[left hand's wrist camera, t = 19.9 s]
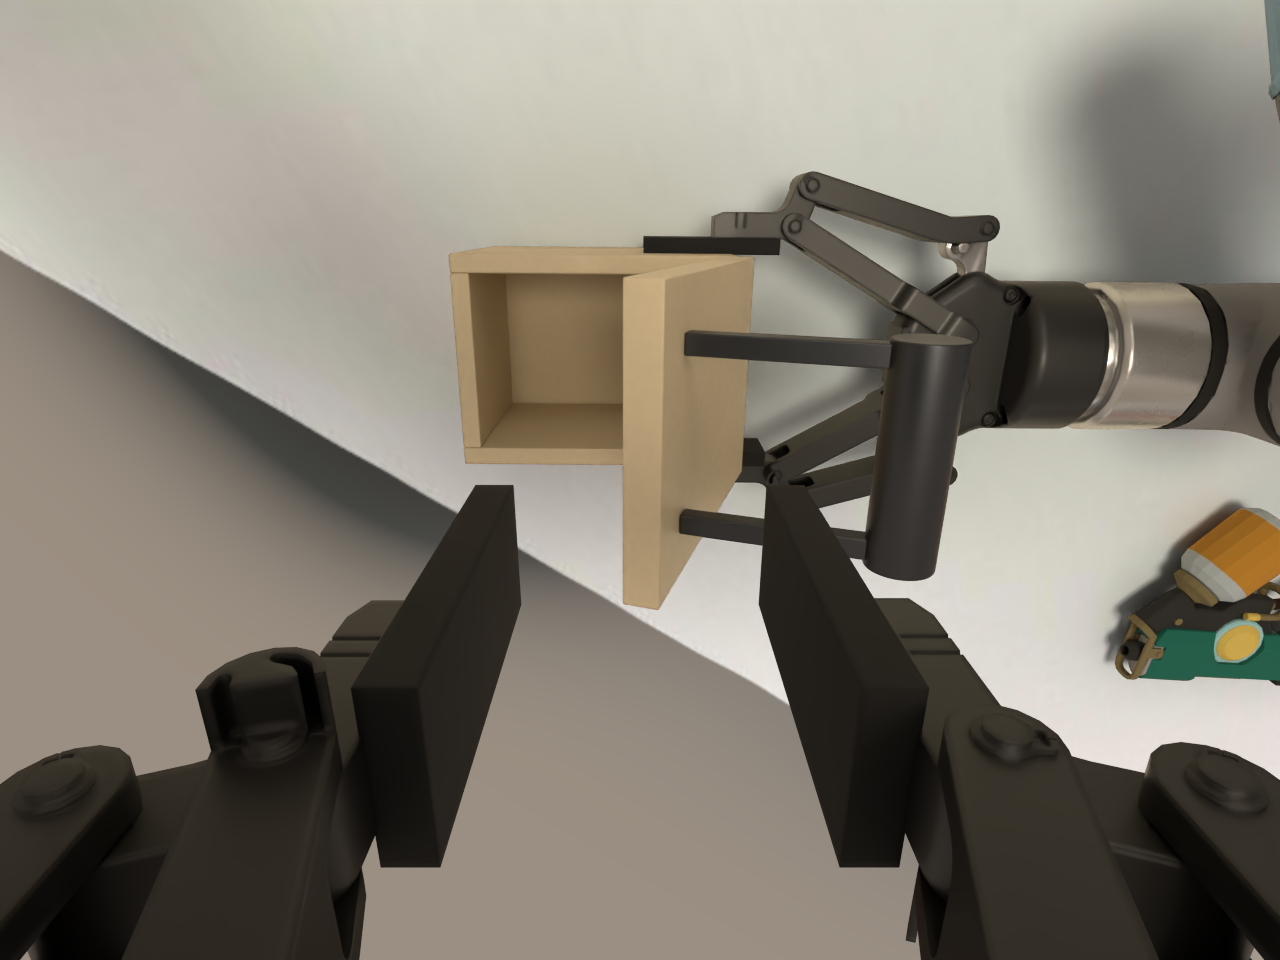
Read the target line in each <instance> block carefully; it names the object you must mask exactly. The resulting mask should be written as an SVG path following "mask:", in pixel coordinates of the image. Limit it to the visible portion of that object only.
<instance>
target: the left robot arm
mask: <svg viewBox="0 0 1280 960" xmlns="http://www.w3.org/2000/svg"><path fill="white" fill-rule="evenodd" d="M520 607H521V594H520V578H519V563H518V548H517V533H516V518H515V502H514V487H513V485H475V487H474V489H473V490H472V492H471V494H470V495H469V497H468V498H467V500H466V502H465V503H464V505H463V507H462V508H461V510H460V511H459V513H458V515H457V516H456V518H455V520H454V521H453V523H452V524H451V526H450V528H449V529H448V531H447V533H446V534H445V536H444V537H443V539H442V541H441V542H440V544H439V546H438V547H437V549H436V550H435V552H434V554H433V555H432V557H431V559H430V560H429V562H428V563H427V565H426V567H425V568H424V570H423V572H422V573H421V575H420V576H419V578H418V580H417V581H416V583H415V585H414V586H413V588H412V589H411V591H410V593H409V594H408V596H407V597H406V599H405V601H370V602H369V603H367V604H366V605H364V606H363V607H361V608H360V609H358V610H357V611H355V612H354V613H352V614H351V615H349V616H348V617H347V618H346V619H345V620H344V622H343V623H342V625H341V626H340V627H339V629H338V630H337V631H336V633H335V634H334V635H333V637H332V638H333V639H332V641H329V642H328V643H327V645H326V646H325V648H324V649H323V650H322V652H321V655H320V656H319V655H318V654H317V653H315V652H314V651H311V650H307V649H302V648H298V647H286V648H272V649H267V650H263V651H259V652H254V653H250V654H247V655H245V656H242V657H240V658H237V659H235V660H233V661H230V662H228V663H226V664H224V665H223V666H221V667H220V668H218V669H217V670H215V671H214V672H212V673H211V674H209V675H208V676H207V677H206V678H205V679H204V680H203V682H202V683H201V684H200V685H199V686H198V687H197V689H196V694H197V698H198V702H199V706H200V710H201V713H202V717H203V721H204V725H205V729H206V732H207V736H208V740H209V744H210V748H211V753H210V755H209V757H208V760H204V761H201V762H197V763H194V764H190V765H185V766H180V767H176V768H171V769H166V770H162V771H157V772H153V773H148V774H144V775H139V776H136V774H135V771H134V768H133V765H132V762H131V758H130V756H128V755H127V754H126V753H125V752H124V751H122V750H121V749H120V748H116V747H109V746H102V745H98V746H90V747H82V748H75V749H71V750H68V751H64V752H61V753H59V754H58V753H57V754H54V755H51V756H49V757H46V758H44V759H42V760H40V761H38V762H36V763H34V764H32V765H30V766H28V767H26V768H24V769H22V770H20V771H18V772H16V773H15V774H14V775H12V776H11V777H10V778H8V779H7V780H6V781H4V782H3V783H1V784H0V960H20V959H21V958H22V957H23V955H24V954H25V953H26V952H28V954H29V956H30V959H31V960H359V957H360V948H361V938H362V929H363V920H364V911H365V902H366V892H365V884H364V878H363V872H362V865H363V862H364V860H365V858H366V855H367V853H368V851H369V848H370V846H371V844H372V841H373V839H374V837H375V836H376V842H377V848H378V854H379V860H380V866H381V867H441V863H442V860H443V857H444V853H445V850H446V847H447V844H448V840H449V837H450V834H451V831H452V828H453V824H454V821H455V818H456V815H457V811H458V808H459V805H460V802H461V798H462V795H463V792H464V788H465V785H466V782H467V779H468V776H469V772H470V769H471V766H472V763H473V759H474V756H475V753H476V750H477V746H478V743H479V740H480V737H481V733H482V730H483V727H484V724H485V720H486V717H487V714H488V711H489V707H490V704H491V701H492V698H493V694H494V691H495V688H496V685H497V681H498V678H499V675H500V671H501V668H502V665H503V662H504V659H505V655H506V652H507V649H508V646H509V642H510V639H511V636H512V632H513V629H514V626H515V623H516V620H517V616H518V613H519V610H520ZM759 607H760V610H761V613H762V616H763V620H764V623H765V626H766V629H767V633H768V636H769V639H770V642H771V646H772V649H773V652H774V655H775V659H776V662H777V665H778V668H779V672H780V675H781V678H782V681H783V685H784V688H785V691H786V694H787V698H788V701H789V704H790V707H791V711H792V714H793V717H794V720H795V724H796V727H797V730H798V733H799V737H800V740H801V743H802V746H803V750H804V753H805V756H806V759H807V763H808V766H809V769H810V772H811V776H812V779H813V782H814V785H815V789H816V792H817V795H818V798H819V802H820V805H821V808H822V811H823V815H824V818H825V821H826V824H827V828H828V831H829V834H830V837H831V841H832V844H833V847H834V850H835V854H836V857H837V860H838V863H839V867H899V866H900V860H901V854H902V848H903V842H904V836H905V833H906V835H907V838H908V840H909V842H910V845H911V847H912V849H913V852H914V854H915V856H916V859H917V861H918V863H919V867H918V872H917V878H916V884H915V889H914V895H913V900H912V906H911V911H910V917H909V922H908V929H907V935H906V941H910V942H916V936H917V931H918V936H919V946H920V955H921V960H1252V959H1251V958H1250V956H1251V954H1252V952H1253V949H1254V948H1255V949H1256V950H1257V951H1258V953H1259V954H1260V955H1261V956H1262V958H1263V959H1264V960H1280V780H1279V779H1277V778H1276V777H1275V776H1273V775H1272V774H1271V773H1269V772H1268V771H1266V770H1265V769H1264V768H1262V767H1259V766H1257V765H1255V764H1253V763H1251V762H1249V761H1247V760H1245V759H1243V758H1241V757H1240V756H1238V755H1236V754H1233V753H1230V752H1228V751H1225V750H1220V749H1218V748H1214V747H1210V746H1207V745H1199V744H1192V743H1184V742H1178V743H1171V744H1164V745H1161V746H1160V747H1158V748H1157V749H1156V750H1155V751H1154V752H1152V753H1151V755H1150V758H1149V762H1148V765H1147V768H1146V771H1145V773H1142V772H1137V771H1133V770H1128V769H1123V768H1119V767H1114V766H1109V765H1105V764H1100V763H1095V762H1091V761H1087V760H1083V759H1080V758H1076V757H1073V756H1071V754H1070V751H1069V749H1068V748H1067V747H1066V745H1065V744H1064V743H1063V741H1062V740H1061V738H1060V737H1059V736H1058V734H1056V733H1055V732H1054V731H1052V730H1051V729H1050V728H1048V727H1047V726H1046V725H1045V724H1043V723H1042V722H1041V721H1039V720H1037V719H1035V718H1033V717H1031V716H1029V715H1026V714H1024V713H1022V712H1020V711H1018V710H1014V709H1011V708H1007V707H1003V706H1001V705H1000V704H999V703H998V701H997V700H996V699H995V697H994V696H993V695H992V693H991V692H990V690H989V689H988V688H987V686H986V685H985V684H984V682H983V681H982V680H981V678H980V677H979V676H978V674H977V673H976V672H975V670H974V669H973V668H972V666H971V665H970V663H969V662H968V661H967V659H966V658H965V657H964V655H960V650H959V649H958V647H957V646H956V645H955V643H954V642H953V640H952V639H951V638H948V634H947V632H946V631H945V630H944V628H943V627H942V626H941V624H940V623H939V622H938V620H937V619H936V618H935V616H934V615H933V614H931V613H930V612H928V611H927V610H925V609H924V608H922V607H921V606H919V605H918V604H916V603H915V602H913V601H912V600H910V599H909V598H874V597H873V596H872V594H871V593H870V591H869V589H868V588H867V586H866V584H865V583H864V581H863V580H862V578H861V576H860V575H859V573H858V571H857V570H856V568H855V567H854V565H853V563H852V562H851V560H850V558H849V557H848V555H847V554H846V552H845V550H844V549H843V547H842V545H841V544H840V542H839V541H838V539H837V537H836V536H835V534H834V532H833V531H832V529H831V528H830V526H829V524H828V523H827V521H826V520H825V518H824V516H823V515H822V513H821V511H820V510H819V508H818V507H817V505H816V503H815V502H814V500H813V498H812V497H811V495H810V494H809V492H808V490H807V489H806V487H805V485H767V487H766V502H765V518H764V533H763V548H762V563H761V578H760V593H759Z"/></svg>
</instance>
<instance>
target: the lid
mask: <svg viewBox="0 0 1280 960" xmlns="http://www.w3.org/2000/svg"><path fill="white" fill-rule="evenodd" d="M753 274H754V257H733V256H728V257H723V258H718V259H713V260H708V261H703V262H698V263H693V264H688V265H683V266H678V267H673V268H668V269H663V270H658V271H653V272H648V273H643V274H638V275H633V276H628V277H624V278H623V604H626V605H632V606H637V607H643V608H649V609H655V610H659V608H660V606H661V605H662V603H663V601H664V600H665V598H666V596H667V595H668V593H669V591H670V590H671V588H672V586H673V585H674V583H675V581H676V580H677V578H678V576H679V575H680V573H681V571H682V570H683V568H684V566H685V565H686V563H687V561H688V560H689V558H690V556H691V555H692V553H693V551H694V550H695V548H696V546H697V545H698V543H699V541H700V540H701V538H702V537H706V538H713V539H720V540H727V541H734V542H741V543H748V544H755V545H763V533H764V519H762V518H754V517H746V516H739V515H731V514H723V513H717V511H718V510H719V508H720V506H721V505H722V503H723V501H724V500H725V498H726V496H727V495H728V493H729V491H730V490H731V488H732V486H733V485H734V483H735V481H736V480H737V478H738V476H739V475H740V473H741V471H742V457H743V440H744V423H745V407H746V390H747V373H748V360H757V361H772V362H788V363H803V364H818V365H834V366H849V367H865V368H880V369H886V375H885V382H884V390H883V398H882V406H881V414H880V422H879V430H878V437H877V445H876V453H875V461H874V469H873V477H872V485H871V493H870V500H869V508H868V516H867V524H866V532H862V531H854V530H846V529H839V528H831V527H830V528H831V529H832V531H833V532H834V534H835V536H836V537H837V539H838V541H839V542H840V544H841V545H842V547H843V549H844V550H845V552H846V554H847V555H848V557H849V558H855V559H862V561H863V564H864V565H865V566H866V567H867V568H868V569H869V570H870V571H872V572H874V573H876V574H878V575H881V576H883V577H887V578H891V579H895V580H902V581H918V580H924V579H927V578H929V577H931V576H932V575H933V574H934V572H935V568H936V562H937V556H938V550H939V544H940V538H941V532H942V526H943V520H944V514H945V508H946V502H947V496H948V490H949V484H950V478H951V472H952V466H953V460H954V454H955V448H956V442H957V436H958V430H959V424H960V418H961V412H962V406H963V400H964V394H965V388H966V382H967V376H968V370H969V364H970V359H971V353H972V347H973V342H972V341H971V340H969V339H966V338H962V337H956V336H949V335H940V334H921V333H910V334H898V335H894V336H891V338H890V341H888V340H869V339H851V338H832V337H814V336H795V335H777V334H758V333H750V323H751V307H752V290H753Z"/></svg>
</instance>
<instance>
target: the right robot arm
mask: <svg viewBox="0 0 1280 960" xmlns="http://www.w3.org/2000/svg"><path fill="white" fill-rule="evenodd" d="M1264 3H1265V14H1266V25H1267V36H1268V48H1269V59H1270V71H1271V84H1270V86H1269V95H1270V96H1271V98H1272V100H1273V99H1275V101H1276V106H1277V111H1278V116H1279V121H1280V0H1264ZM815 206H816V207H819V208H822V209H825V210H828V211H831V212H835V213H838V214H841V215H844V216H847V217H850V218H853V219H856V220H859V221H862V222H865V223H868V224H871V225H874V226H877V227H880V228H883V229H886V230H889V231H892V232H895V233H898V234H901V235H904V236H907V237H910V238H913V239H917V240H921V241H927V242H937V243H938V252H939V254H940V255H941V257H943V258H945V259H949V260H952V261H953V262H954V263H955V264H956V266H957V273H955V274H953V275H952V276H950V277H949V278H947V279H946V280H944V281H943V282H941V283H940V284H938V285H937V286H935V287H934V288H932V289H931V290H929V291H928V292H926V293H923V292H922V291H920V290H919V289H917V288H915V287H913V286H912V285H909V284H908V283H906V282H904V281H903V280H901V279H900V278H898V277H896V276H895V275H893V274H892V273H890V272H889V271H887V270H886V269H884V268H883V267H881V266H880V265H878V264H877V263H875V262H874V261H872V260H871V259H869V258H868V257H866V256H864V255H863V254H861V253H860V252H858V251H857V250H855V249H854V248H852V247H851V246H849V245H848V244H846V243H845V242H843V241H842V240H840V239H839V238H837V237H836V236H834V235H832V234H831V233H829V232H828V231H826V230H825V229H823V228H822V227H820V226H819V225H817V224H816V223H814V222H813V221H811V220H810V216H811V214H812V212H813V209H814V207H815ZM999 229H1000V223H999V221H998V219H997V218H996V217H994V216H990V215H975V216H953V217H950V216H947V215H944V214H941V213H938V212H935V211H932V210H929V209H926V208H923V207H920V206H917V205H914V204H911V203H908V202H905V201H902V200H899V199H896V198H893V197H890V196H887V195H884V194H881V193H878V192H875V191H872V190H869V189H866V188H864V187H861V186H858V185H855V184H852V183H849V182H846V181H843V180H840V179H837V178H834V177H831V176H828V175H825V174H822V173H819V172H813V171H812V172H808V173H805V174H801V175H799V176H796V177H795V178H794V179H793V180H792V182H791V183H790V188H789V192H788V195H787V197H786V199H785V202H784V204H783V205H782V207H781V208H780V209H778V210H777V211H775V212H772V213H769V212H722V213H719V214H717V215H715V216H712V220H711V237H681V236H644V241H643V253H674V254H733V255H779V252H780V239H783V240H784V241H786V242H787V243H789V244H791V245H792V246H794V247H795V248H797V249H798V250H800V251H801V252H803V253H805V254H806V255H808V256H809V257H811V258H812V259H814V260H815V261H817V262H818V263H820V264H822V265H823V266H825V267H826V268H828V269H829V270H831V271H832V272H834V273H835V274H837V275H839V276H840V277H842V278H843V279H845V280H846V281H848V282H849V283H851V284H853V285H854V286H856V287H857V288H859V289H860V290H862V291H863V292H865V293H866V294H868V295H870V296H871V297H873V298H874V299H876V300H877V301H878V302H879V303H881V304H882V305H884V306H885V307H887V308H888V309H890V310H891V311H893V312H895V313H896V314H897V316H896V318H895V319H894V322H889V330H888V341H890V338H891V336H894V335H898V334H910V333H921V334H940V335H949V336H956V337H962V338H966V339H969V340H971V341H972V342H973V347H972V353H971V359H970V364H969V370H968V376H967V382H966V388H965V394H964V400H963V406H962V412H961V418H960V424H959V430H958V436H960V435H963V434H965V433H966V432H968V431H971V430H974V429H978V428H1051V429H1055V428H1062V427H1065V426H1069V427H1071V428H1076V429H1205V430H1225V431H1233V432H1238V433H1243V434H1247V435H1249V436H1252V437H1255V438H1258V439H1261V440H1264V441H1266V442H1269V443H1272V444H1275V445H1278V446H1280V283H1246V284H1186V283H1155V282H1089V283H1087V284H1084V285H1083V284H1081V283H1078V282H1068V281H999V280H996V279H994V278H993V277H991V276H990V275H988V274H987V273H985V265H986V256H987V246H988V241H991V240H992V239H994V238H995V237H996V236H997V234H998V233H999ZM885 375H886V369H884V370H883V378H882V381H884V382H885ZM883 390H884V386H883V387H881V388H879V389H877V390H875V391H873V392H872V393H870V394H868V395H867V396H866V398H865V399H864V400H863V401H861V402H859V403H857V404H855V405H853V406H852V407H850V408H848V409H846V410H844V411H842V412H840V413H838V414H836V415H834V416H832V417H830V418H829V419H827V420H825V421H823V422H821V423H819V424H817V425H815V426H813V427H811V428H809V429H808V430H806V431H804V432H802V433H800V434H798V435H796V436H794V437H792V438H790V439H788V440H786V441H785V442H783V443H781V444H779V445H777V446H775V447H773V448H771V449H769V450H767V451H764V450H763V448H762V446H761V444H760V442H759V440H758V438H744V440H743V457H742V471H741V473H740V475H739V476H738V478H737V480H736V481H735V482H753V483H760V484H763V485H764V486H765V487H767V485H805V487H806V489H807V490H808V492H809V494H810V495H811V497H812V498H813V500H814V502H815V503H816V505H817V507H818V508H822V507H826V506H830V505H834V504H838V503H841V502H845V501H849V500H853V499H857V498H861V497H865V496H869V495H870V493H871V485H872V477H873V469H874V461H875V455H874V456H870V457H867V458H863V459H859V460H855V461H851V462H847V463H844V464H840V465H836V466H832V467H828V468H824V469H821V470H817V471H813V472H809V473H805V474H802V473H804V472H806V471H808V470H810V469H812V468H814V467H816V466H818V465H820V464H822V463H824V462H826V461H828V460H830V459H832V458H834V457H836V456H838V455H839V454H841V453H843V452H845V451H847V450H849V449H851V448H853V447H855V446H857V445H859V444H861V443H863V442H865V441H867V440H869V439H871V438H873V437H875V436H877V435H878V430H879V422H880V414H881V406H882V398H883ZM800 474H801V475H800ZM956 478H957V471H956V469H955V468H954V467H953V466H952V472H951V478H950V484H949V485H951V484H953V483H954V482H955V480H956Z"/></svg>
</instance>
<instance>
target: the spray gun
mask: <svg viewBox="0 0 1280 960" xmlns="http://www.w3.org/2000/svg"><path fill="white" fill-rule="evenodd" d="M1181 569H1182V570H1181ZM1181 569H1179V570H1177V571H1176V572H1175V573H1174V577H1175V580H1176V582H1177V588H1174V589H1172V590H1170V591H1168V592H1167V593H1165V594H1164V595H1162V596H1161V597H1159V598H1158V599H1156V600H1155V601H1153V602H1151V603H1150V604H1148V605H1147V606H1145V607H1144V608H1142V609H1141V610H1139V611H1138V612H1136V614H1131V615H1130V616H1129V617H1127V618H1128V619H1129V621H1130V622H1131V625H1130V628H1129V630H1128V632H1127V635H1126V637H1125V639H1124V641H1123V644H1122V646H1121V648H1120V650H1119V653H1118V655H1117V657H1116V661H1115V666H1116V669H1117V670H1118V672H1119V673H1120V674H1121V675H1122V676H1123V677H1125V678H1126V679H1137V678H1148V679H1165V680H1181V681H1187V680H1192V679H1194V677H1213V678H1233V679H1259V680H1270V681H1271V682H1272V683H1273V684H1275V685H1279V686H1280V631H1277V633H1276V632H1275V631H1273V630H1272V627H1271V621H1277V620H1280V610H1279V611H1278V612H1277V613H1274V614H1270V612H1271V611H1272V610H1276V609H1280V598H1279V599H1272V598H1270V597H1268V596H1267V592H1268V590H1270V589H1271V590H1273V591H1275V592H1277V593H1278V594H1280V586H1279V585H1277V584H1274V583H1272V582H1269V581H1270V580H1272V579H1273V578H1275V577H1276V576H1278V575H1279V574H1280V520H1279V519H1278V518H1276V517H1275V516H1273V515H1272V514H1270V513H1269V512H1267V511H1265V510H1262V509H1260V508H1240V509H1238V510H1237V511H1236V512H1234V513H1233V514H1232V515H1231V516H1229V517H1228V518H1227V519H1225V520H1224V521H1223V522H1221V523H1220V524H1219V525H1218V526H1216V527H1215V528H1214V529H1212V530H1211V531H1210V532H1208V533H1207V534H1206V535H1205V536H1203V537H1202V538H1201V539H1199V540H1198V541H1197V542H1196V543H1194V544H1193V545H1192V546H1190V547H1189V548H1188V549H1187V550H1186V551H1185V553H1184V554H1183V556H1182V557H1181ZM1257 589H1259V590H1258V592H1257V594H1252V593H1253V592H1255V591H1256V590H1257ZM1194 602H1195V603H1194ZM1137 628H1139V629H1138V631H1139V632H1140V633H1141V634H1135V632H1136V630H1137ZM1124 657H1125V658H1126V659H1128V660H1129V661H1128V662H1129V667H1130V670H1131V672H1132V674H1129V673H1128V672H1127V671H1126V670H1125V668H1124V667H1123V660H1124Z"/></svg>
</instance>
